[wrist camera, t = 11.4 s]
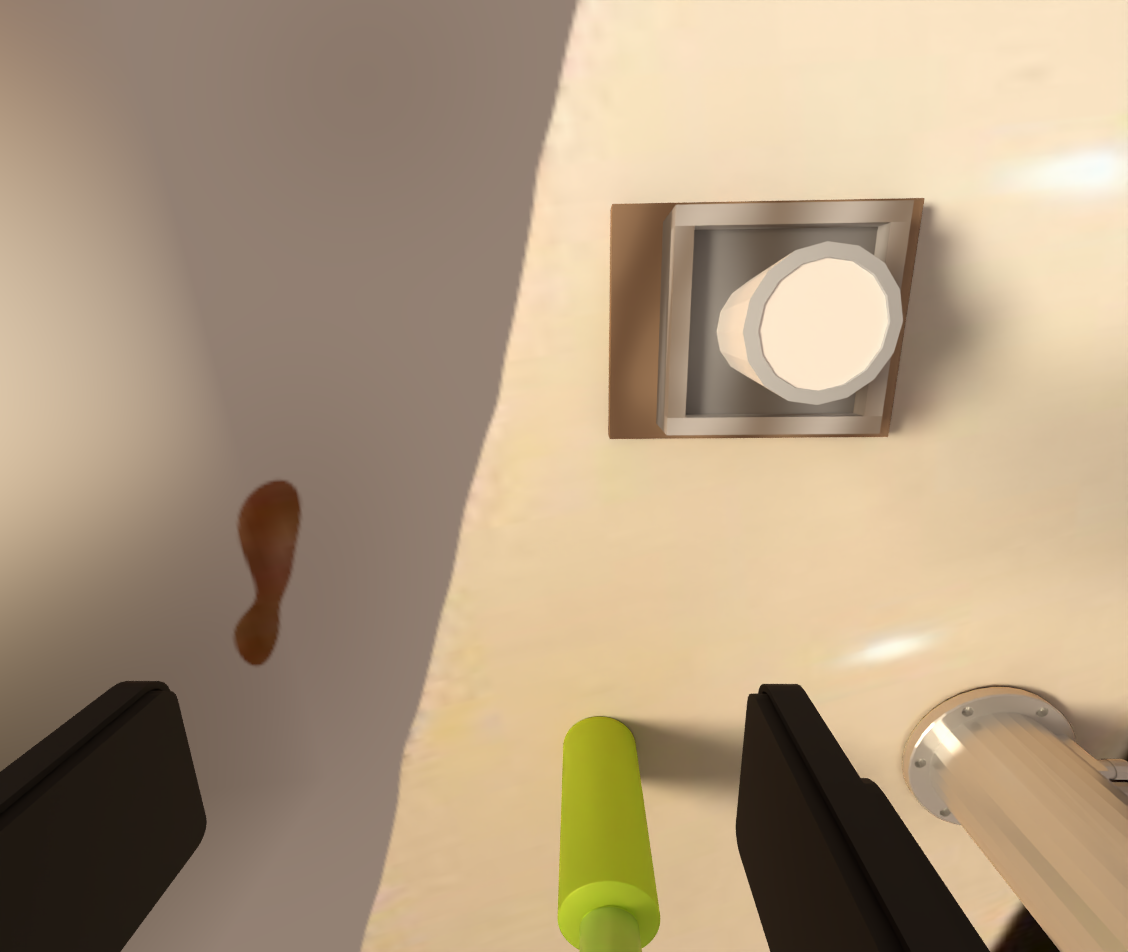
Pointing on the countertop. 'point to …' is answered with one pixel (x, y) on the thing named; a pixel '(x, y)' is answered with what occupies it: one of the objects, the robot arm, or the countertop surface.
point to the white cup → (814, 323)
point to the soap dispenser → (604, 843)
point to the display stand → (699, 292)
